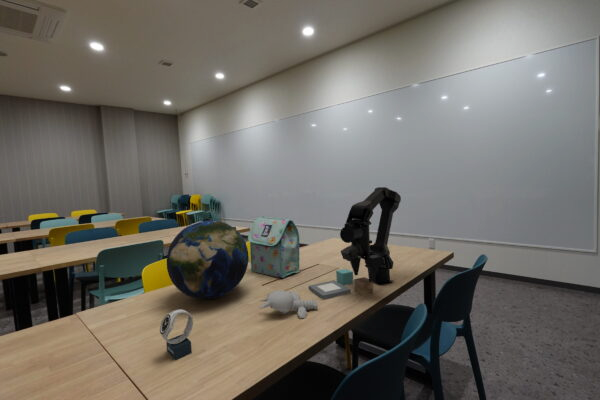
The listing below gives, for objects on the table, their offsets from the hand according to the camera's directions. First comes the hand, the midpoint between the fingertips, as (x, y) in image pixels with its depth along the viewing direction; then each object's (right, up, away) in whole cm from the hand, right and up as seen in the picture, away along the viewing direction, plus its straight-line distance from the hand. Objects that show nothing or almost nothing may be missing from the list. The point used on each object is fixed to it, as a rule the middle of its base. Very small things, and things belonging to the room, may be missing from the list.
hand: (363, 278), depth 112 cm
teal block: (-5, -5, +12) cm, 14 cm away
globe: (-59, -8, +3) cm, 59 cm away
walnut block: (0, -6, 0) cm, 6 cm away
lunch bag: (-36, -6, +31) cm, 48 cm away
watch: (-56, -10, -35) cm, 66 cm away
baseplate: (-13, -6, +3) cm, 14 cm away
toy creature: (-28, -8, -14) cm, 33 cm away
